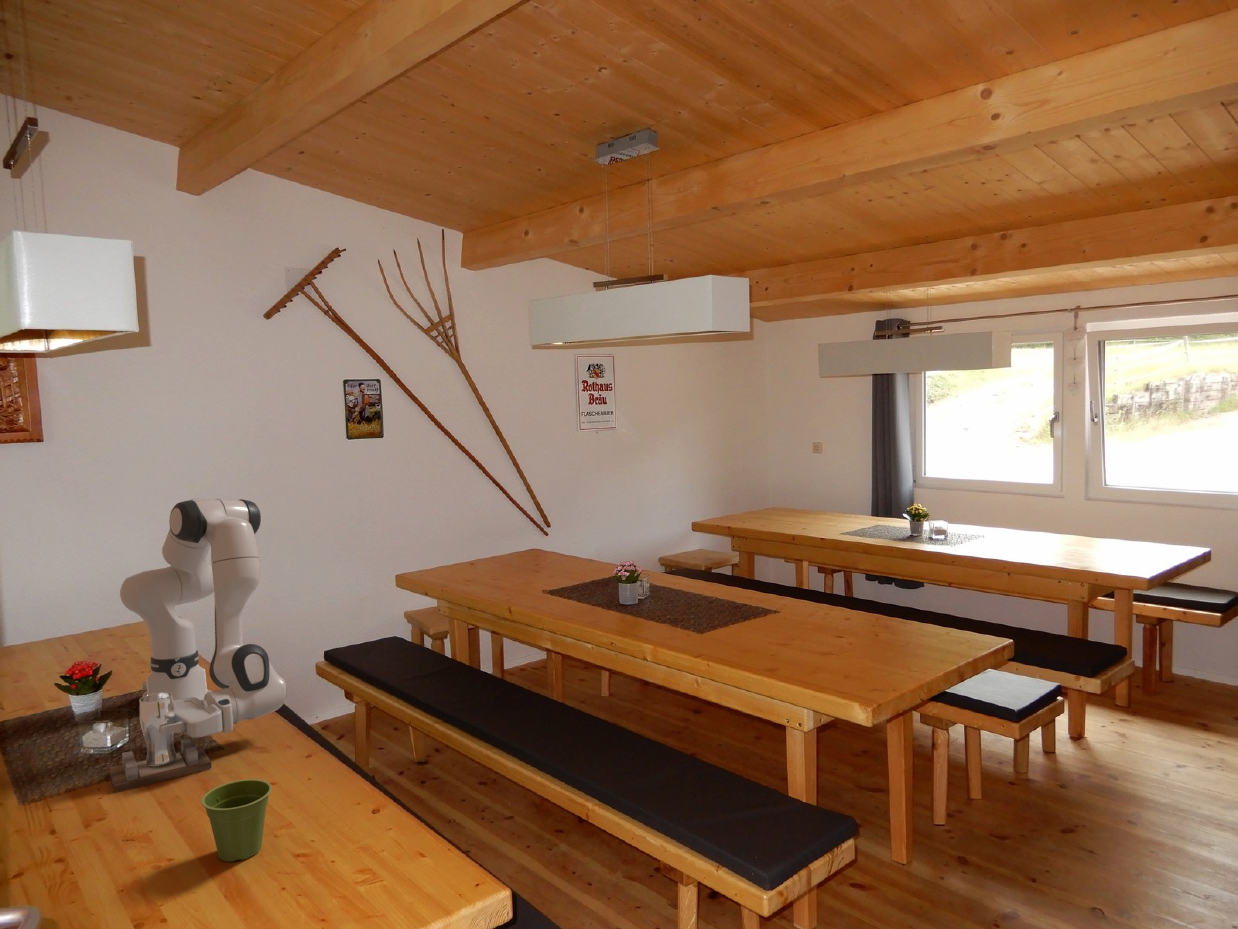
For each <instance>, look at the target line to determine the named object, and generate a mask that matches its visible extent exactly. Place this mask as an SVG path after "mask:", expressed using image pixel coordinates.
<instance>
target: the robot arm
mask: <svg viewBox="0 0 1238 929" xmlns="http://www.w3.org/2000/svg"><path fill="white" fill-rule="evenodd" d="M261 518H262V517H261V510H260V508H259V507H258V505H257V504H256V503H255V502H254V501H251V500H247V499H242V498H241V499H230V498H212V499H211V498H210V499H205V498H202V497H201V498H200V497H197V498H191V499H189V500H188V499H187V500H185V501H180V502H178V503H176V504H175V505H174V506H173V508H172V509H171V511H170V514H169V520H168V521H169V523H168V524H169V530H168V532H167V536H166V537H165V540H164V542H163V546H162V548H161V549H162V550H161V553H162V557H163V559H164V561H165V562H166V563H167V564H168V565H169V566H166V567H163V568H157V569H151V570H146V571H145V570H144V571H141V572H138V573H136V574H134V575H131V576H129V577H126V578H125V580H123V582H122V584H121V587H120V591H119V596H120V599H121V602H122V604H123V605H124V607H125V608H126V609H127V610H129V611H131V612H133V613H134V614H137V616H139V617H140V618H141V619H142V620H143V621H144V623H145V624H146V626H147V629H148V632H149V637H150V644H151V657H150V663H149V664H150V670H151V672H150V674H149V676H148V677H147V679H146V680H145V681H142V690H144V691H145V690H146V691H145V692H143V694H142V697H143V696H146V695H149V694H152V693H157V692H170V693H172V697H173V703H174V709H175V724H169V725H168V724H166V725H163V726H160V727H159V733H160V734H162V735H165V734H169V733H174V734H180V733H185V734H186V735H188V736H189V738H193V739H195V738H203V737H208V736H213V735H215V734H216V735H217V734H219V733H230V732H233V730H234V725H235V724H238V723H239V722H241V721H243V720H244V721H245V720H253V719H258V718H260V717H261V718H262V717H263V716H266V715H270V714H272V713H273V712H276V711H277V710H280V708H281V707H282V706H283V705H284V704H285V702H286V699H287V694H288V690H287V689H288V688H287V684H286V681H285V679H284V678H283V677H282V676H280V675H279V674H278V673H277V672H276V670H275V669H274V666H272V664H271V661H270V657H269V654H268V652H267V651H266V650H265V649H264V648H263V647H262V646H260V645H258V644H254V643H248V644H244V643H243V610H244V607H245V605H246V603H247V601H248V600H249V598H250V597H251V596H252V595H253V593H254V591H255V590H256V589H257V587H258V585H259V582H260V577H261V576H260V575H261V563H260V562H261V561H260V554H259V548H258V543H257V542H258V541H257V538H256V534H257V533H258V530H259V529H260V527H261V521H262V520H261ZM209 551H210V559H211V560H210V562H211V565H210V564H208V563H207V562H206V561H207V557H208V554H209ZM213 594H214V595H213ZM211 595H213V598H214V634H215V635H214V639H215V641H214V642H215V643H214V644H215V646H214V652H213V655H212V658H211V661H210V663H209V670H208V671H209V676H210V679H211V681H212V683H213V684H214V685H215V686H217V687H218V688H220V689H218V690H214V691H212V690H210V689H208V686H207V685H208V684H207V675H206V669H205V668H203V667H202V666H200V664H199V663H200V661H199V660H200V659H199V658H200V655H199V651H198V650H197V639H196V637H197V636H196V627H195V625H194V623H193V622H192V621H191V620H190V619H187V618H185V617H182V616H178V615H177V612H176V610H175V607H176V606H179V605H183V604H188V603H192V602H198V601H201V600H202V599H205V598H207V597H209V596H211Z"/></svg>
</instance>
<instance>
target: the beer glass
mask: <svg viewBox="0 0 1238 929" xmlns="http://www.w3.org/2000/svg"><path fill="white" fill-rule="evenodd" d="M138 702H139V707H138V708H139V709H138V712H139V722H140V726H141V732H142V735H143V738H144V741H145V745H146V758H145V759H146V764H147V765H148V766H160V765H164V764H167V763H170V762H172V761H174V760H175V759H176V753H175V752H176V749H175V745H174V734H175V733H169V734H165V735H162V734H160V733H159V727H160V726H163V725H166V724H168V725H169V724H175V709H174V703H173V697H172V693H170V692H157V693H152V694H149V695H146V696H143V695H142V697H140V698H139V701H138Z"/></svg>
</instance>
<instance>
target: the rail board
mask: <svg viewBox="0 0 1238 929" xmlns="http://www.w3.org/2000/svg"><path fill="white" fill-rule="evenodd" d="M175 753H176V759H175V760H174V761H172V762H170V763H167V764H164V765H160V766H148V765H147V764H146V758H145V759H140V760H136V758H135V755H134V753H133V750H130V751H126V752H122V753H121V758H122V759H121V760H122V761H121V763H122V764H119V765H115V766H110V767H109V769H108V770H109V776H110V779H111V783H112V787H113V789H114V793H119V792H124V791H127V790H131V789H136V788H139V787H143V786H147V785H151V784H156V783H160V782H164V781H167V780H172V779H175V778H179V777H184V776H188V775H191V774H190V773H192V774H197V773H199V771H200V772H203V771H202V770H204V771H207V769H208V770H211V769H210V768H212V761H211V759H210V758H209V756H208V755H207V753H206V750H205V749H204V748H203V746H202V745H200V746H196V745H195V744H194V742H193V741H192V739H191V737H187V738H184V739H183V738H182V739H180V750H178V751H175ZM187 774H188V775H187Z"/></svg>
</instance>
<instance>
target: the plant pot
mask: <svg viewBox="0 0 1238 929" xmlns="http://www.w3.org/2000/svg"><path fill="white" fill-rule="evenodd" d="M272 790H273V786H272V784H271V783H270V782H269V781H266V780H263V779H255V778H253V779H252V778H249V779H241V780H234V781H230V782H226V783H222V784H221V785H218V786H216V787H214V788H212V789H210V790H209V791H207V792H205V793H204V795H203V796H202V798H201V801H200V803H201V805H202V807H204V808H205V811H206V812H205V813H206V815H207V817H208V819H209V822H210V826H211V830H212V835H213V838H214V843H215V847H216V851H217V856H218V858H219V859H220V860H221V861H224V862H232V863H233V862H235V861H238V860H242V861H243V860H248V859H249V858H252V857H253V856H255V855H256V854H258V853H259V852H260V850H261V848H262V846H263V844H262V843H263V836H264V828H265V821H266V820H265V819H266V811H267V806H268V803H269V798H270V797H269V795H270V794H271V792H272Z"/></svg>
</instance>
